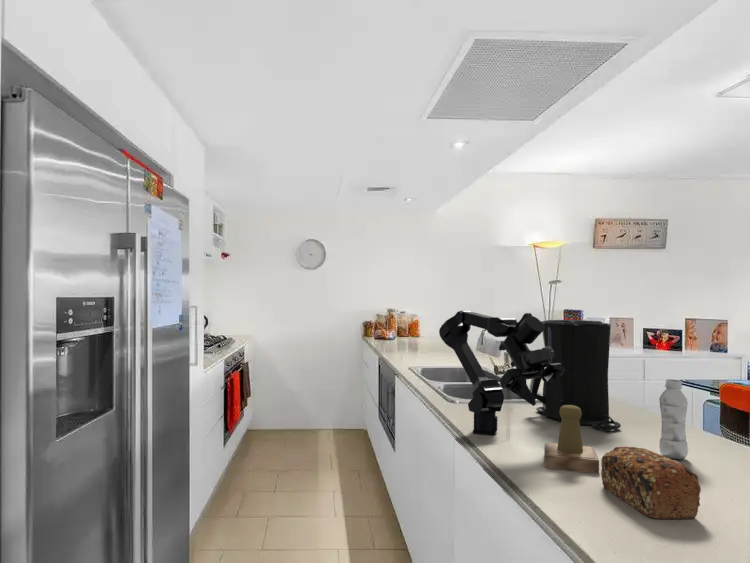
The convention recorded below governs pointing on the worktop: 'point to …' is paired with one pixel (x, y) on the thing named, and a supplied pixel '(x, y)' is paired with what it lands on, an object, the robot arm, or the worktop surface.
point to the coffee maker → (578, 371)
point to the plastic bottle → (673, 421)
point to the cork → (570, 430)
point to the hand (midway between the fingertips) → (548, 402)
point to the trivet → (571, 459)
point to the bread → (651, 483)
